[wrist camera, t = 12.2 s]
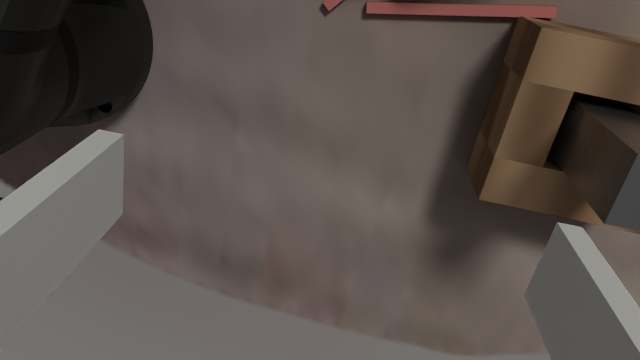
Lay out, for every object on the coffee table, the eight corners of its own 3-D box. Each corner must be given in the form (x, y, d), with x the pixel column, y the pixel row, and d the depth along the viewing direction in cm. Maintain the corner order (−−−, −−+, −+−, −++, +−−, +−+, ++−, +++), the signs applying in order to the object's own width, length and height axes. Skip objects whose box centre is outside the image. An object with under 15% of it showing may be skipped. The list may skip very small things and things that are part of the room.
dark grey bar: (533, 133, 43) (604, 223, 30) (552, 82, 41) (638, 154, 28) (585, 143, 43) (680, 239, 30) (607, 93, 41) (719, 170, 28)
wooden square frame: (466, 167, 45) (478, 199, 40) (519, 14, 39) (542, 27, 34) (614, 199, 45) (646, 235, 40) (688, 50, 39) (737, 68, 34)
